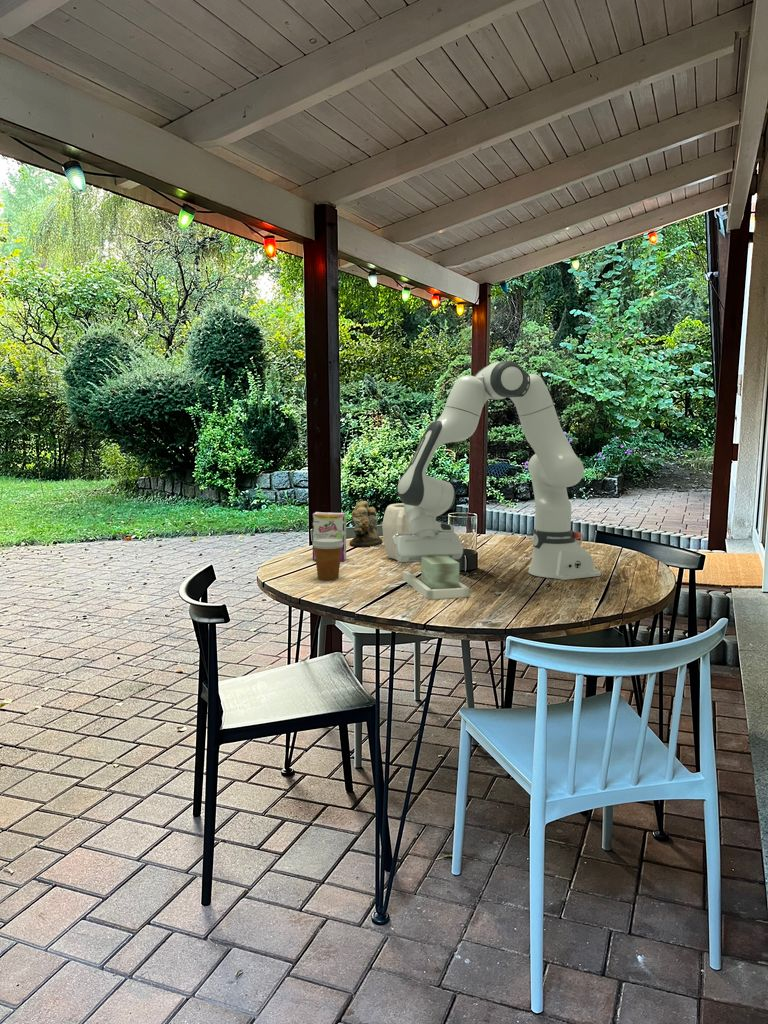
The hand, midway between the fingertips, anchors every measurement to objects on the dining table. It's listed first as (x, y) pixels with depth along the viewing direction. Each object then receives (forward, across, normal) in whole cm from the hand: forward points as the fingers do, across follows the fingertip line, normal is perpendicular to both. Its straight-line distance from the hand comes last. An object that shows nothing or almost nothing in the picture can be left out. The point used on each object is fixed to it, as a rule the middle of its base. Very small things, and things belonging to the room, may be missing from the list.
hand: (433, 571), depth 210 cm
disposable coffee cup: (-10, -28, +17) cm, 34 cm away
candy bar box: (-29, -23, +36) cm, 52 cm away
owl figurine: (-48, -4, +56) cm, 74 cm away
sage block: (+7, 0, -1) cm, 7 cm away
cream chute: (+4, 0, +3) cm, 5 cm away
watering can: (-28, +4, +35) cm, 45 cm away
